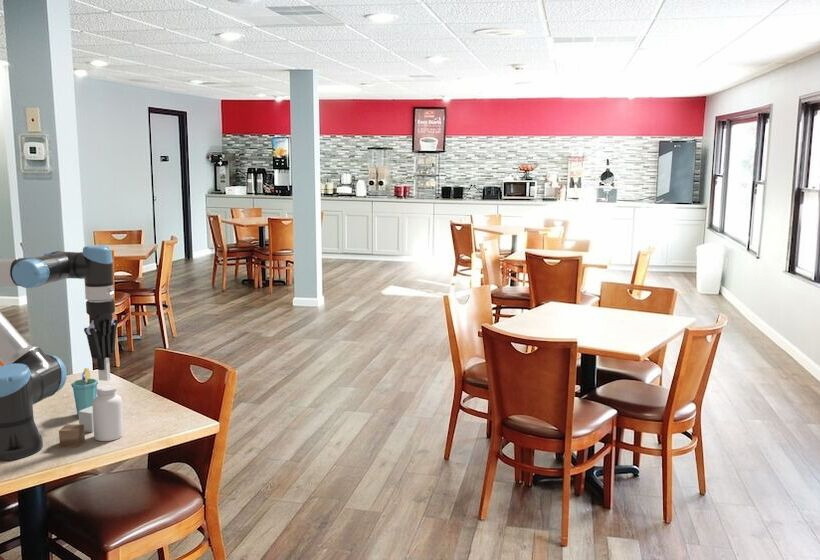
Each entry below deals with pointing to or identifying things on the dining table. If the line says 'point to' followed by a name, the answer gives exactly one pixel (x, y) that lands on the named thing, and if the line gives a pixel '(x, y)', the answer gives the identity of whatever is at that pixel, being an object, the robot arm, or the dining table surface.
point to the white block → (87, 419)
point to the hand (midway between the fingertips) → (104, 379)
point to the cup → (84, 391)
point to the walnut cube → (71, 435)
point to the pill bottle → (107, 414)
